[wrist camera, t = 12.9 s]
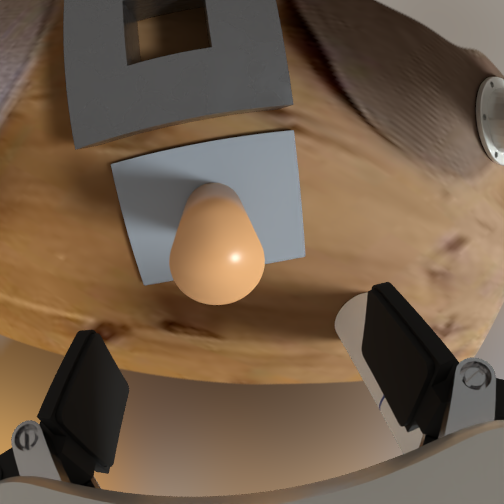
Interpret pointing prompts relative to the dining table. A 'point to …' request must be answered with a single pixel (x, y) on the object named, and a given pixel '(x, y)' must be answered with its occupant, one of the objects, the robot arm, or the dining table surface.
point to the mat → (212, 171)
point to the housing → (169, 67)
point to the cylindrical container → (351, 336)
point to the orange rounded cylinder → (216, 248)
